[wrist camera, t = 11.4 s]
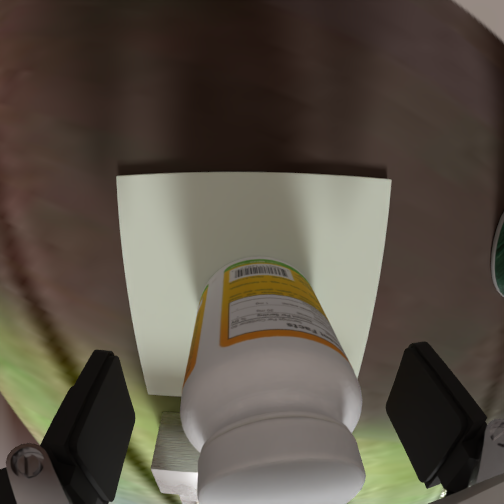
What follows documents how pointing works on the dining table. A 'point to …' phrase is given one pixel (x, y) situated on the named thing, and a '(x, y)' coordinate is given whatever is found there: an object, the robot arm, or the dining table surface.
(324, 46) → the dining table surface
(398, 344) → the dining table surface
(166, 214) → the pad
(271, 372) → the supplement bottle
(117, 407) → the robot arm
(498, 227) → the canned tomato
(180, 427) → the vise
